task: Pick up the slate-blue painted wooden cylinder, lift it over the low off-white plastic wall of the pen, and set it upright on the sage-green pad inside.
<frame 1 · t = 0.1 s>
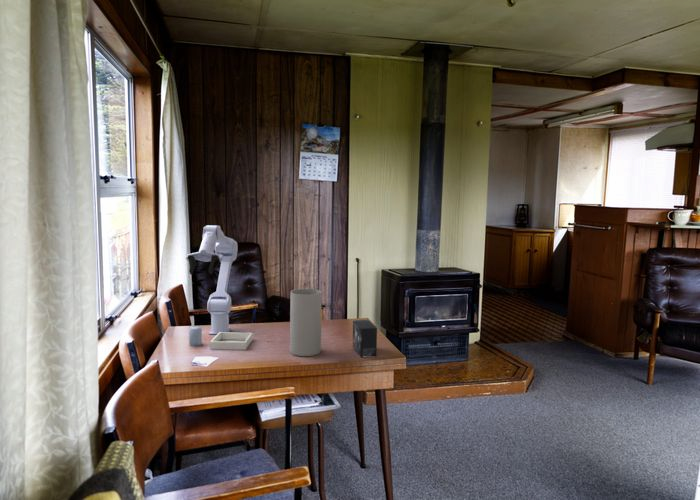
hand: (200, 273, 197), 32 cm above the table, tool tilted 50°, fingers open, 7 cm apart
small box: (364, 352, 204), on the table
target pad: (232, 344, 211), resting in pen
cylinder vase: (305, 352, 202), on the table
cylinder: (195, 344, 209), on the table
pen: (232, 344, 211), on the table
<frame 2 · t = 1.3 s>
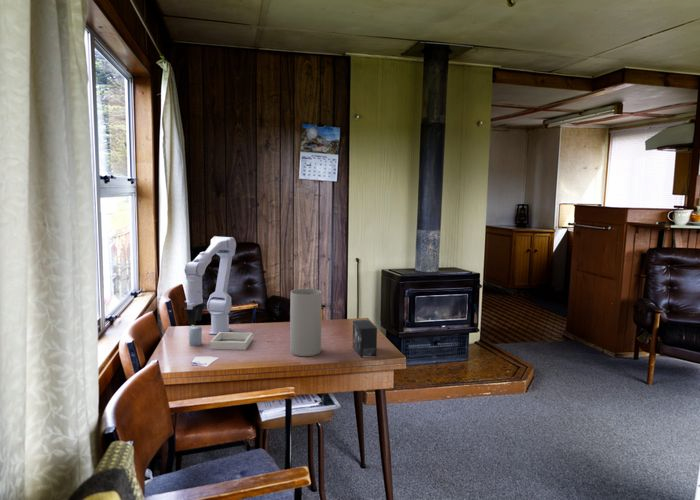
hand: (195, 322, 208), 9 cm above the table, tool pointing down, fingers open, 7 cm apart
nothing on the table moved.
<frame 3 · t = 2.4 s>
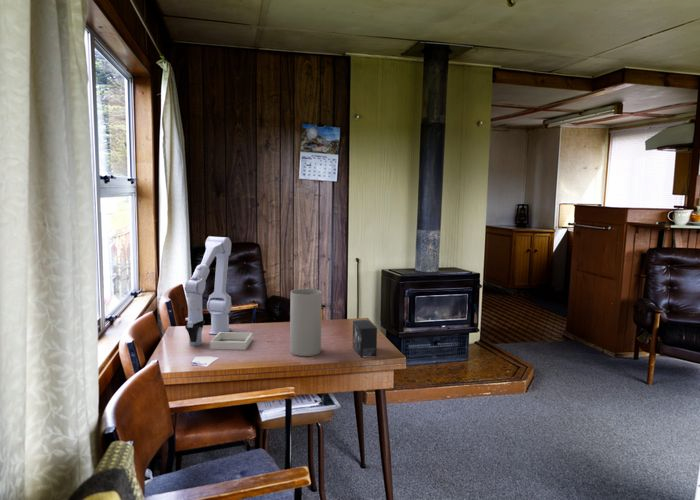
hand: (195, 339, 209), 2 cm above the table, tool pointing down, fingers closed on cylinder, 5 cm apart
cylinder: (195, 344, 209), on the table, touching gripper
everything else where it was.
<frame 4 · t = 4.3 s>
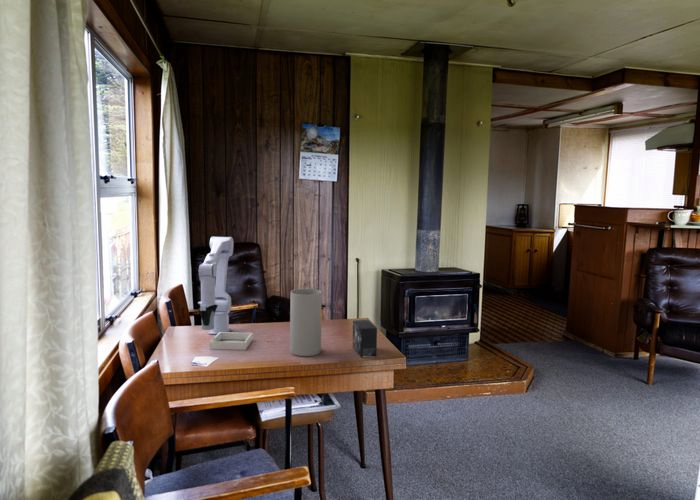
hand: (208, 323, 209), 9 cm above the table, tool pointing down, fingers closed on cylinder, 5 cm apart
cylinder: (208, 328, 209), point 7 cm above the table, touching gripper
everything else where it was.
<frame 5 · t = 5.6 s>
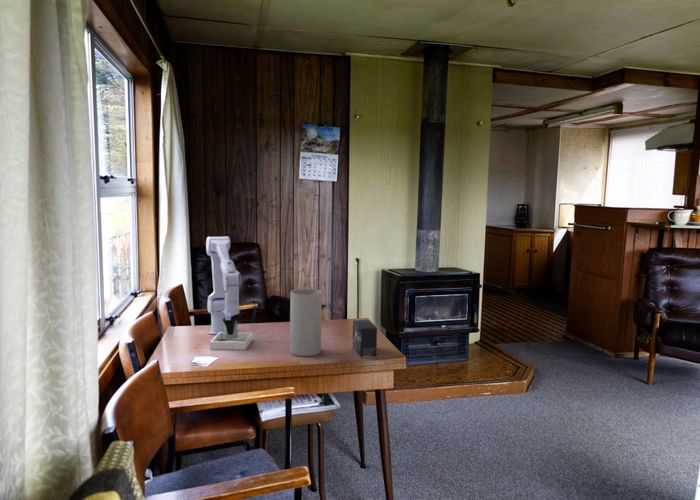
hand: (231, 332, 210), 5 cm above the table, tool pointing down, fingers closed on cylinder, 5 cm apart
cylinder: (231, 337, 210), point 3 cm above the table, touching gripper
everything else where it was.
when the fingers open (4 cm above the table, at t = 6.3 s): cylinder drops 1 cm, resting on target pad.
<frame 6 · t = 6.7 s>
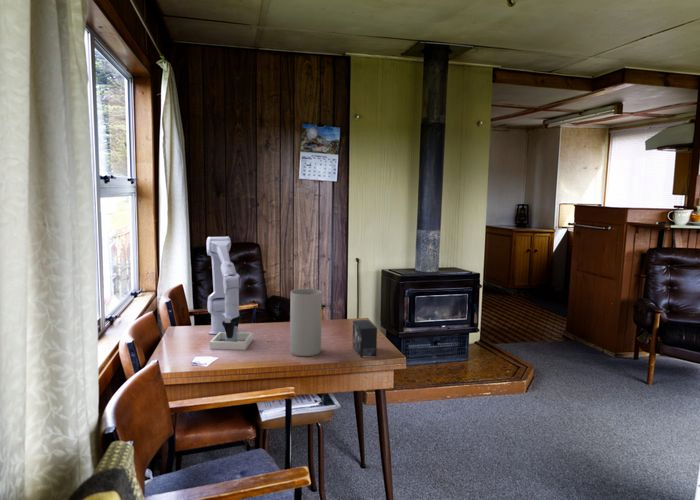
hand: (231, 335, 210), 4 cm above the table, tool pointing down, fingers open, 7 cm apart
cylinder: (231, 343, 211), resting on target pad
everything else where it was.
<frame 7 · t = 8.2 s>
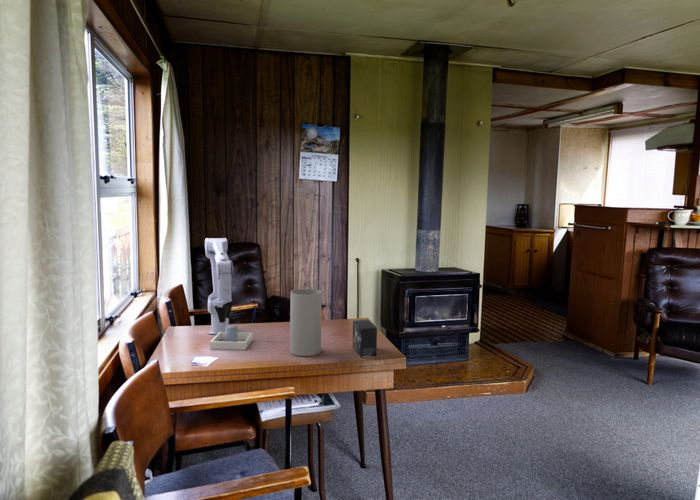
hand: (224, 320, 213), 9 cm above the table, tool pointing down, fingers open, 7 cm apart
nothing on the table moved.
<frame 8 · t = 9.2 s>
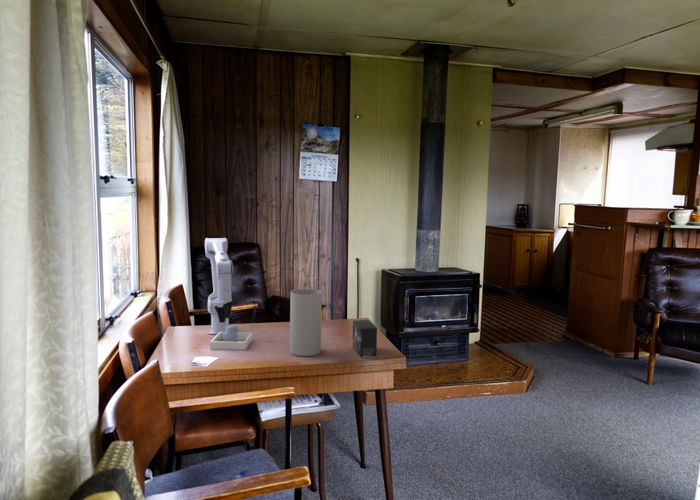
hand: (224, 320, 213), 9 cm above the table, tool pointing down, fingers open, 7 cm apart
nothing on the table moved.
at the end: cylinder 0.2 cm off-centre on the pen, point 0.3 cm above the pen's base; cylinder tilted 0°; the gripper is holding nothing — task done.
